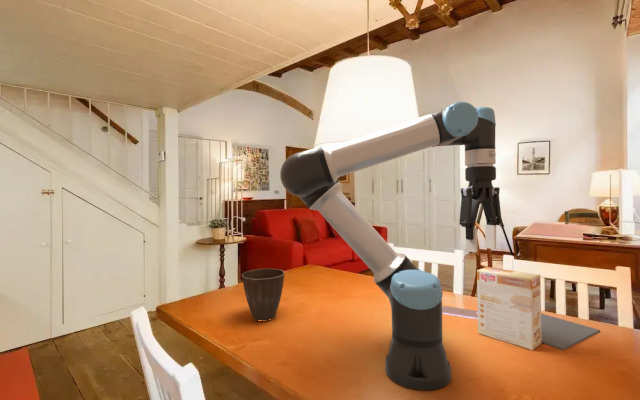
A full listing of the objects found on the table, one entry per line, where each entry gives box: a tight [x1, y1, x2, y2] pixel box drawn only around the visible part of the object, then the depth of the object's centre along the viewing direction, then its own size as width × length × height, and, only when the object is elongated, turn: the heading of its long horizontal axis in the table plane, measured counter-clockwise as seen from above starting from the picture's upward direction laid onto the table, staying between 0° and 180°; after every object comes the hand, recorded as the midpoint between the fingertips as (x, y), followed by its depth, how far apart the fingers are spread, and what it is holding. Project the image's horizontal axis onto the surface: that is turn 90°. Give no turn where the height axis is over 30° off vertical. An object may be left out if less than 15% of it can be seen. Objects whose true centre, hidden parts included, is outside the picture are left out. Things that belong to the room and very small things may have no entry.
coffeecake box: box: [476, 266, 543, 351], centre depth 96 cm, size 15×7×20 cm, turn 39°
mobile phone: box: [442, 305, 478, 321], centre depth 116 cm, size 8×1×15 cm
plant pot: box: [241, 268, 285, 321], centre depth 116 cm, size 15×15×16 cm
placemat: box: [541, 313, 601, 351], centre depth 103 cm, size 22×22×1 cm
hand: (481, 249), depth 90 cm, fingers open, 8 cm apart
